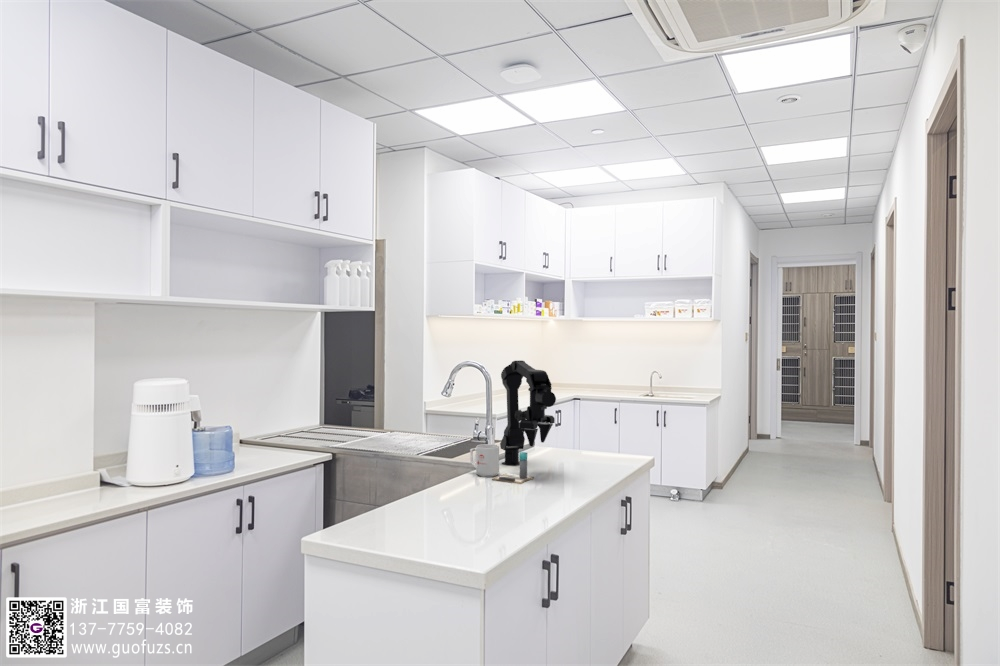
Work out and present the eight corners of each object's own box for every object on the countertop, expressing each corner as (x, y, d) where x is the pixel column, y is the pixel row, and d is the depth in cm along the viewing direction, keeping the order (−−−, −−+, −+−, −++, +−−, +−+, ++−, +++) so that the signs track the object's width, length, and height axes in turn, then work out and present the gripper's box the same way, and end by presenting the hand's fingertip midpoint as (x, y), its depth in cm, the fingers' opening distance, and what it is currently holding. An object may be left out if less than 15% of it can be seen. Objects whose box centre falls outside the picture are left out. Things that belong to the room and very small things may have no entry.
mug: (503, 473, 261) (503, 445, 261) (492, 478, 253) (492, 449, 253) (476, 470, 266) (476, 442, 266) (464, 475, 258) (464, 446, 258)
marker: (521, 476, 253) (521, 451, 253) (528, 477, 252) (528, 452, 252) (517, 478, 251) (517, 453, 251) (525, 479, 249) (525, 454, 249)
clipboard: (505, 474, 259) (505, 470, 259) (533, 477, 254) (533, 474, 254) (491, 480, 250) (491, 476, 250) (520, 483, 244) (520, 480, 244)
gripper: (530, 399, 268) (530, 438, 269) (506, 404, 252) (506, 446, 252) (555, 401, 262) (555, 441, 263) (533, 407, 246) (532, 449, 247)
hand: (537, 444), depth 256 cm, fingers open, 9 cm apart
